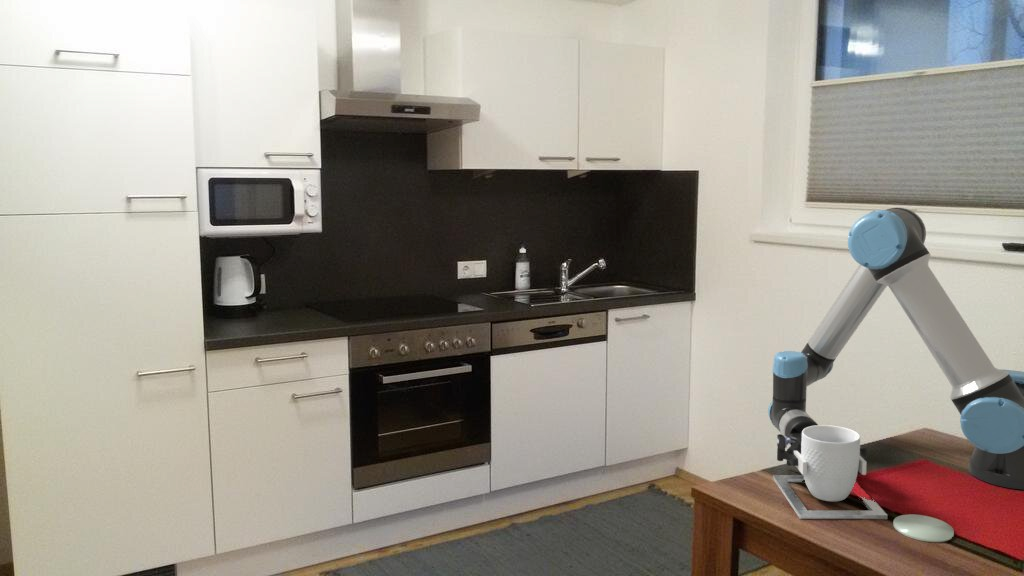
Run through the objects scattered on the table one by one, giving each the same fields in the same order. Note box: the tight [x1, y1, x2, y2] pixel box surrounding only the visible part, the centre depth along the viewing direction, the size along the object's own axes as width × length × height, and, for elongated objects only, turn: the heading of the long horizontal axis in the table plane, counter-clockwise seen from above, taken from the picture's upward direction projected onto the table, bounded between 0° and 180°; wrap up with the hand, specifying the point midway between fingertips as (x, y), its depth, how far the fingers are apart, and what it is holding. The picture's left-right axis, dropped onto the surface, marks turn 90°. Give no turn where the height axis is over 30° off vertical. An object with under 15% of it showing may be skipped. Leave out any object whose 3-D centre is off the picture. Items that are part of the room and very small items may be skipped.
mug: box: [801, 424, 861, 502], centre depth 161 cm, size 15×11×13 cm
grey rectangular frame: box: [772, 474, 888, 520], centre depth 161 cm, size 16×20×1 cm
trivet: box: [892, 513, 955, 543], centre depth 147 cm, size 10×10×1 cm
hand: (834, 468), depth 156 cm, fingers closed on mug, 11 cm apart
